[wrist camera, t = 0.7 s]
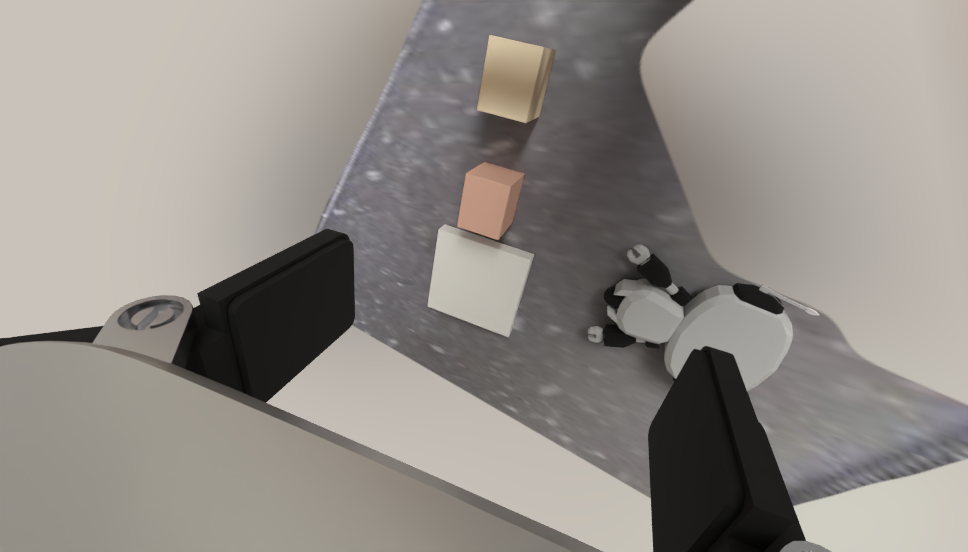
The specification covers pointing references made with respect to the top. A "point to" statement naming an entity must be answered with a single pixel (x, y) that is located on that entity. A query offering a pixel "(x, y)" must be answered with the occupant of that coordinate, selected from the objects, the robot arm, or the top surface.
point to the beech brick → (514, 79)
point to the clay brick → (489, 199)
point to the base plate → (478, 279)
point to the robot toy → (698, 320)
